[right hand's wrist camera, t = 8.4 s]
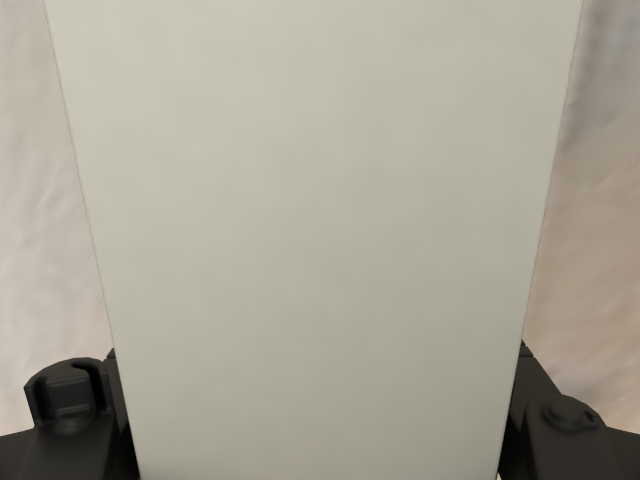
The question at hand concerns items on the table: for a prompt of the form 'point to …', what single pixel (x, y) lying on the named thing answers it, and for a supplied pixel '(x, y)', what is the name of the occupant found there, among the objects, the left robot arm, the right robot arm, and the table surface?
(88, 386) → the right robot arm
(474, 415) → the post
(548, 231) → the table surface
